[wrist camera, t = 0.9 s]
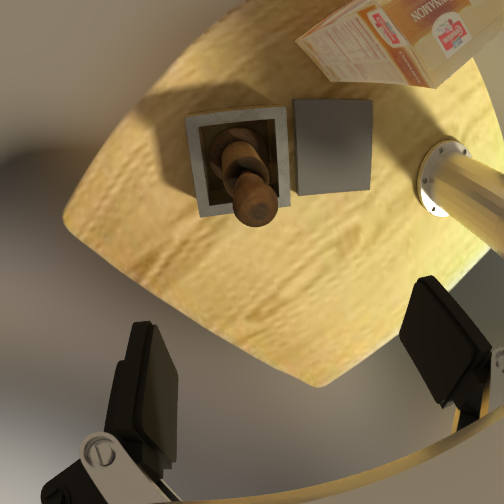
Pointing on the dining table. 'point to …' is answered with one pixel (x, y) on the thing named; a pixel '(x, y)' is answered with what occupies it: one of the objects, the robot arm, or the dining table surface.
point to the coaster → (332, 145)
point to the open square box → (278, 153)
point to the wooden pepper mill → (244, 174)
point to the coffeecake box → (401, 39)
